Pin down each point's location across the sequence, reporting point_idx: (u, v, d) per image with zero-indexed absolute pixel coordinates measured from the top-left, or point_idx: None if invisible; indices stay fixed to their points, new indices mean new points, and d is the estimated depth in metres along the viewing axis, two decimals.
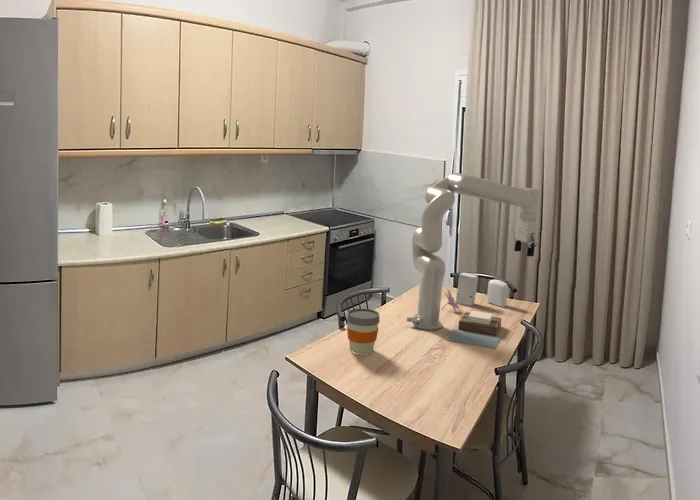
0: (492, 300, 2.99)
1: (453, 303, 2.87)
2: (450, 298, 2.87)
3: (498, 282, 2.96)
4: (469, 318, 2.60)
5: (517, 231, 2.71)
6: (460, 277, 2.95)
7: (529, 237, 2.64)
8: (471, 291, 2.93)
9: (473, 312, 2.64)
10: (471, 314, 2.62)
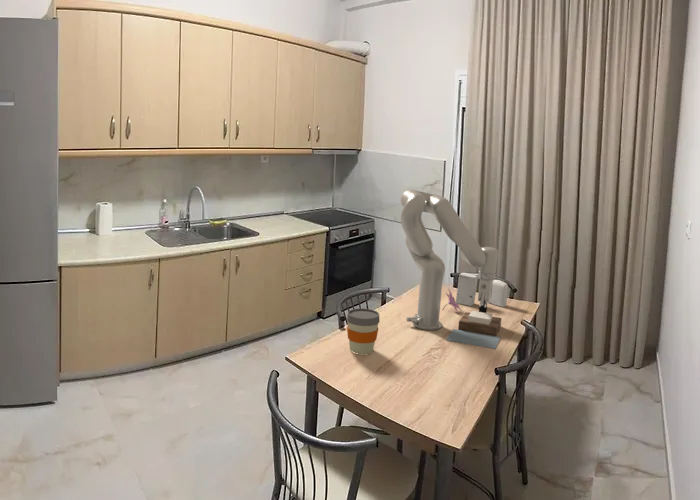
0: (492, 300, 2.99)
1: (454, 303, 2.87)
2: (451, 298, 2.87)
3: (498, 282, 2.96)
4: (469, 318, 2.60)
5: (490, 294, 2.62)
6: (460, 277, 2.95)
7: None
8: (471, 291, 2.93)
9: (473, 312, 2.64)
10: (471, 314, 2.62)
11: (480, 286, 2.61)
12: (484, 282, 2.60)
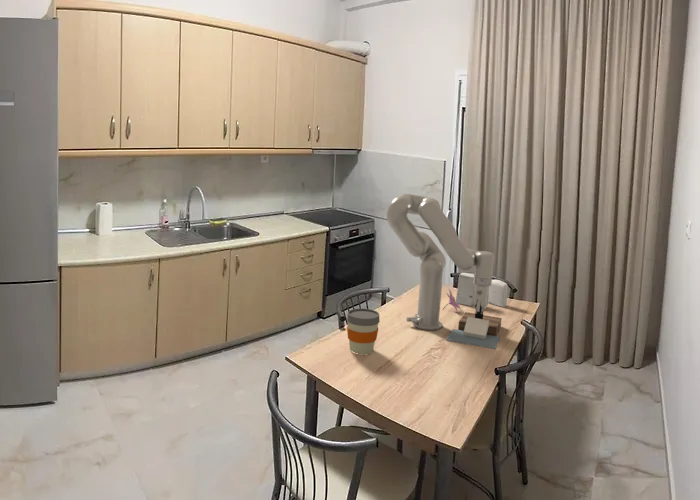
0: (492, 300, 2.99)
1: (454, 303, 2.87)
2: (451, 298, 2.87)
3: (498, 282, 2.96)
4: (464, 333, 2.52)
5: (486, 300, 2.52)
6: (460, 277, 2.95)
7: None
8: (471, 291, 2.93)
9: (469, 321, 2.55)
10: (466, 327, 2.53)
11: (476, 292, 2.51)
12: (480, 288, 2.50)
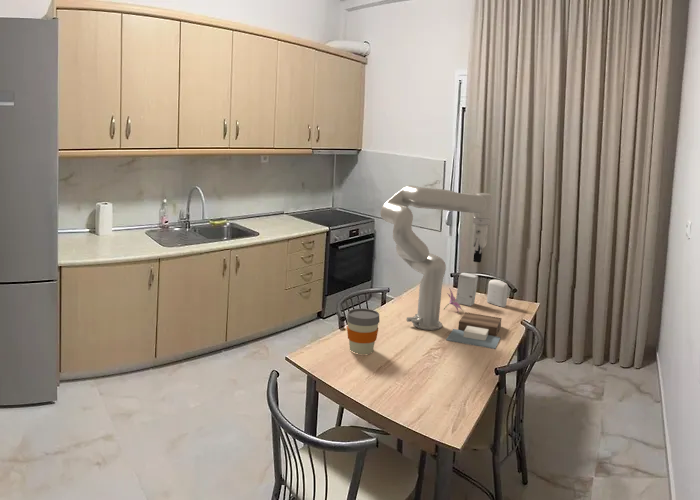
0: (492, 300, 2.99)
1: (455, 303, 2.87)
2: (452, 298, 2.87)
3: (498, 282, 2.96)
4: (464, 333, 2.51)
5: (484, 239, 2.64)
6: (460, 277, 2.95)
7: None
8: (471, 291, 2.93)
9: (468, 327, 2.56)
10: (466, 329, 2.53)
11: (475, 231, 2.63)
12: (478, 227, 2.62)
